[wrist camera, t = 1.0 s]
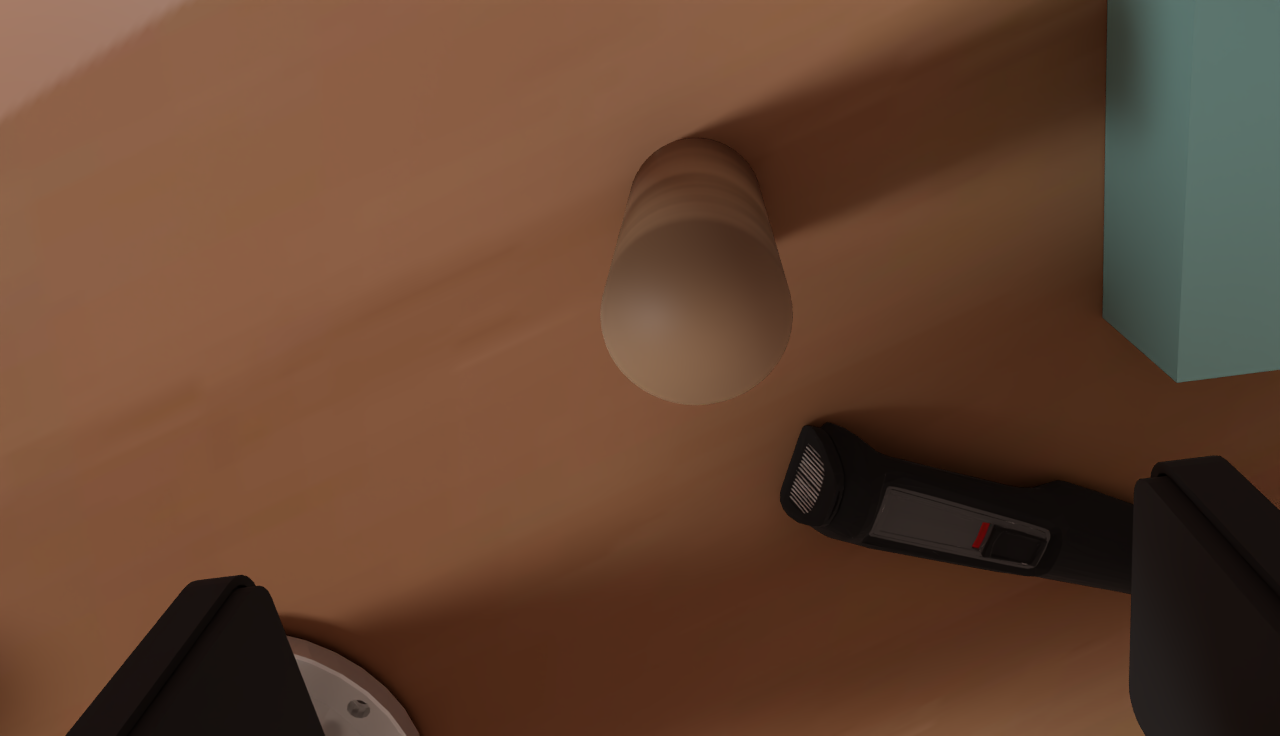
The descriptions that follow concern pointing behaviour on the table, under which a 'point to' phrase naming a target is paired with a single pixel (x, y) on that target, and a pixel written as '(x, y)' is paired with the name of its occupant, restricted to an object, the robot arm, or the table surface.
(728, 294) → the walnut peg
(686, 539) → the table surface
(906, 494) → the electric trimmer
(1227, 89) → the socket stand
